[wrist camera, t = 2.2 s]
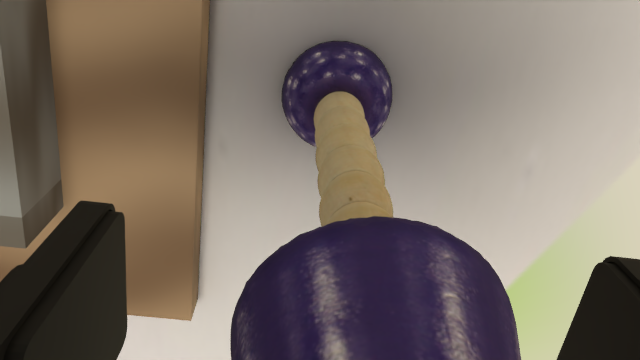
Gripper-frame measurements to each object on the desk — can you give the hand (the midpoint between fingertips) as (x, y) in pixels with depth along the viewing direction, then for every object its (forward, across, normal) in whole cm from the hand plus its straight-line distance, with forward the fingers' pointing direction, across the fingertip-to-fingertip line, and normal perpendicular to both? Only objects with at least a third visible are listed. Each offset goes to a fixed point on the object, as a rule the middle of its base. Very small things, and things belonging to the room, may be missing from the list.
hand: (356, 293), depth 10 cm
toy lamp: (+12, 0, -1) cm, 12 cm away
